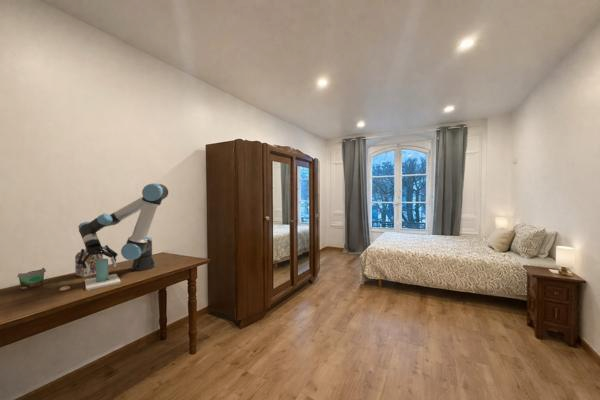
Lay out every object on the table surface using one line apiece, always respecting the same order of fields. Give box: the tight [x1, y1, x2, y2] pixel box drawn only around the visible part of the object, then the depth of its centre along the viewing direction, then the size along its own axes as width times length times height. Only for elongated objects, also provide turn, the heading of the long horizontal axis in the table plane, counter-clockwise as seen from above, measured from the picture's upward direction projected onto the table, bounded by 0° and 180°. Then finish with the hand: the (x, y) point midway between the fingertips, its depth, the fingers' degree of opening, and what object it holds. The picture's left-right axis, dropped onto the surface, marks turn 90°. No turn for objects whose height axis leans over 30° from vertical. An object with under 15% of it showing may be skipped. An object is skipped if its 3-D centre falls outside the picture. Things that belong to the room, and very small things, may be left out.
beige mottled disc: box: [59, 285, 71, 292], centre depth 141 cm, size 4×4×1 cm
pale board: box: [84, 273, 122, 291], centre depth 151 cm, size 16×20×1 cm
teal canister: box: [95, 258, 109, 282], centre depth 151 cm, size 6×6×13 cm
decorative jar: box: [74, 248, 104, 278], centre depth 168 cm, size 12×12×18 cm
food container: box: [16, 267, 47, 291], centre depth 145 cm, size 12×6×10 cm, turn 168°
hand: (102, 268), depth 151 cm, fingers open, 13 cm apart
